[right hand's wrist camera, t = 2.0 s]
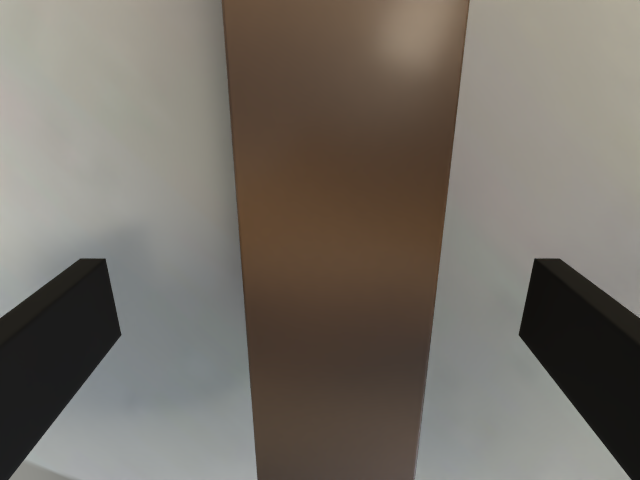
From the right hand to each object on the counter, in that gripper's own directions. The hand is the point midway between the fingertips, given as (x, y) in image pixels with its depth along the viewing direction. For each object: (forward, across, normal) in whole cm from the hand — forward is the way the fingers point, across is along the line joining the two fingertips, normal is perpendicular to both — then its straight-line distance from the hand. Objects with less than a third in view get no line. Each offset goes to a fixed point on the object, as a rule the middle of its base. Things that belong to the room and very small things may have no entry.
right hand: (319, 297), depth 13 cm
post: (+7, -1, -26) cm, 27 cm away
